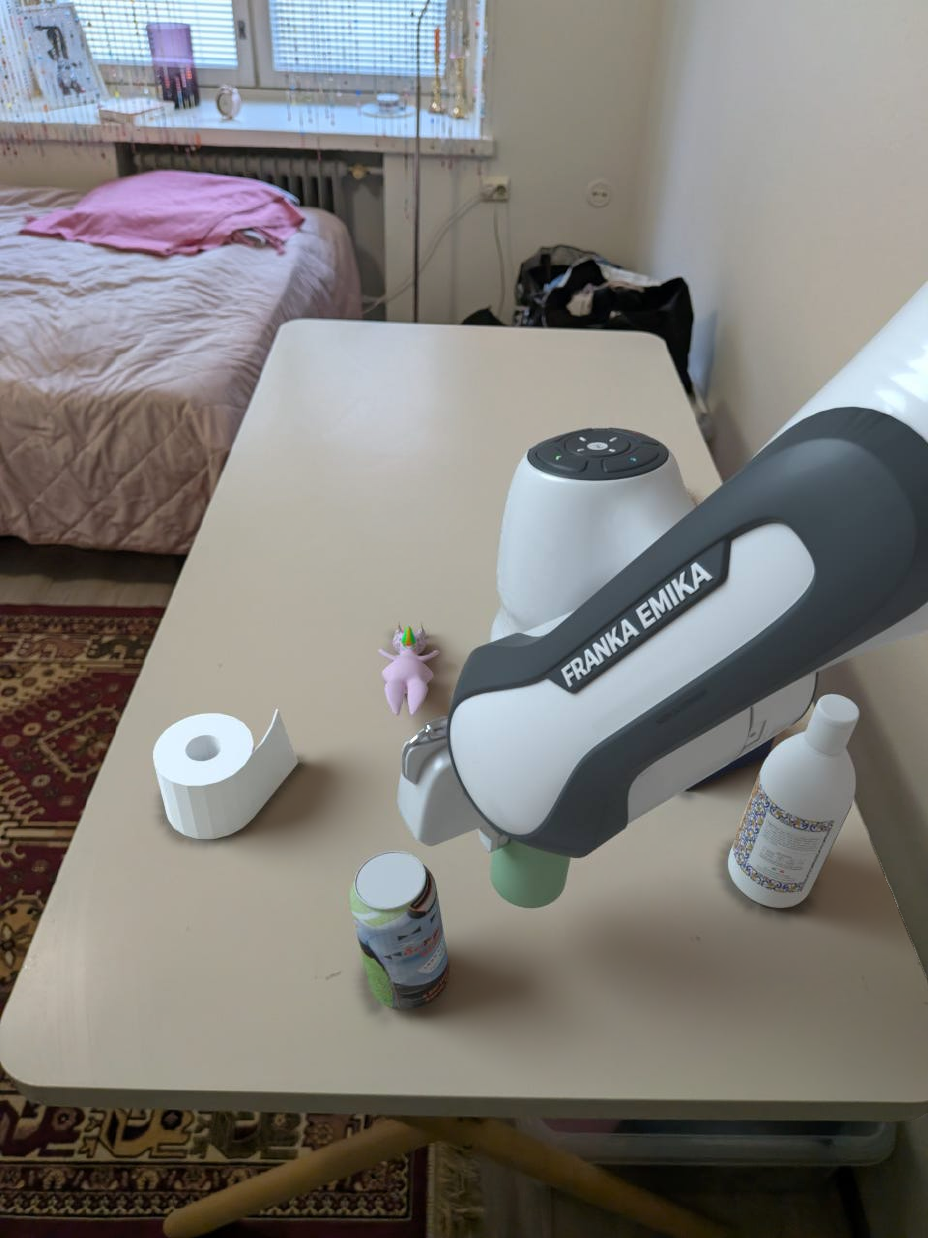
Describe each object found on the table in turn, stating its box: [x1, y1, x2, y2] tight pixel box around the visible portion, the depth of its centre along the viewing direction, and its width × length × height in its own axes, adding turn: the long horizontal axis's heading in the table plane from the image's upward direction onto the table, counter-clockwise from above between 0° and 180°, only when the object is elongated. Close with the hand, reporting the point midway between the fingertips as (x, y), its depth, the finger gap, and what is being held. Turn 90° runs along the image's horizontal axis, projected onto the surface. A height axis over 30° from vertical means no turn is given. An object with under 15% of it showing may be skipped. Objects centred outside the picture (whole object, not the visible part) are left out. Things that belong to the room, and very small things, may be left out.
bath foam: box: [727, 693, 860, 909], centre depth 72 cm, size 7×7×20 cm
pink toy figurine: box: [378, 621, 440, 717], centre depth 93 cm, size 6×6×15 cm
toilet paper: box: [152, 708, 299, 840], centre depth 81 cm, size 8×11×7 cm
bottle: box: [489, 838, 572, 909], centre depth 63 cm, size 6×6×16 cm
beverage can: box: [348, 850, 450, 1011], centre depth 66 cm, size 6×7×12 cm
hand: (537, 824), depth 64 cm, fingers closed on bottle, 5 cm apart
